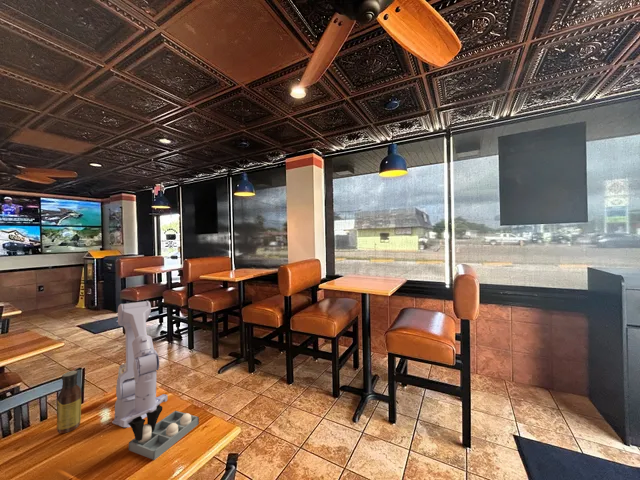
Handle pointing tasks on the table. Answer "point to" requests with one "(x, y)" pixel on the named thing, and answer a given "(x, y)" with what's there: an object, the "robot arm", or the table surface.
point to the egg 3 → (185, 419)
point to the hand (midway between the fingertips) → (144, 435)
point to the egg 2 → (172, 430)
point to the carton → (163, 436)
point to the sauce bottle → (69, 403)
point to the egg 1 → (146, 434)
